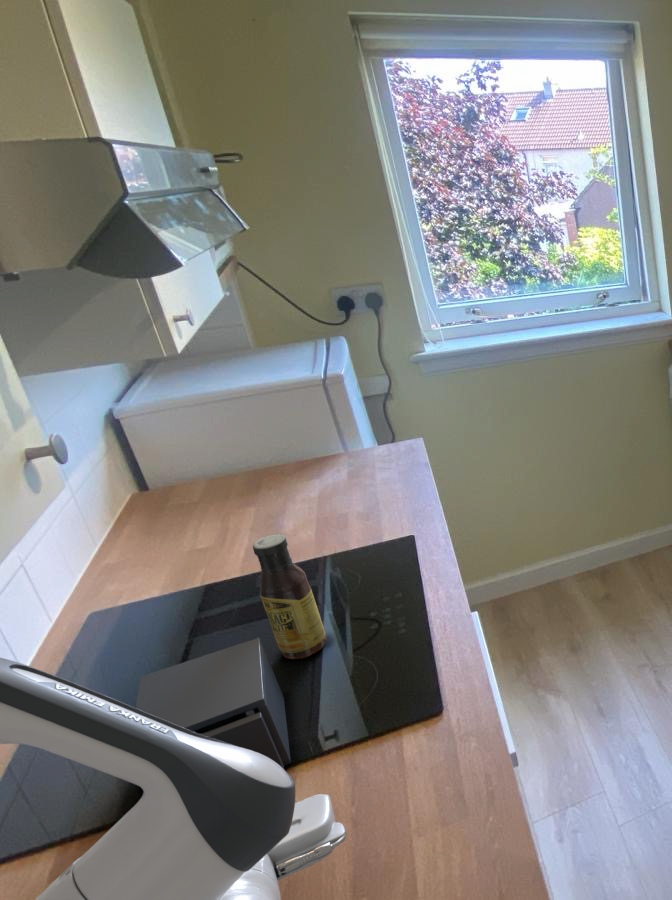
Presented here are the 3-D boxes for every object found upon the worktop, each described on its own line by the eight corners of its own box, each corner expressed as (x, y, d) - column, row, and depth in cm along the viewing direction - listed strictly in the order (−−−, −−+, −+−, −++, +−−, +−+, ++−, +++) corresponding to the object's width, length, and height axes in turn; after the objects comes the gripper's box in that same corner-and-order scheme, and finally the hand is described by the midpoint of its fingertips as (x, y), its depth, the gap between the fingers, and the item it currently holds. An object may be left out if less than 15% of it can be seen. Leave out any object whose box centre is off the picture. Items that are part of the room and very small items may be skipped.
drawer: (286, 794, 89) (262, 739, 85) (165, 846, 83) (133, 789, 79) (278, 708, 102) (257, 657, 98) (173, 747, 96) (146, 695, 92)
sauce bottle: (273, 657, 113) (228, 547, 105) (309, 632, 119) (270, 526, 110) (303, 666, 111) (260, 555, 103) (339, 640, 117) (301, 533, 108)
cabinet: (291, 763, 94) (263, 698, 90) (165, 815, 87) (128, 748, 83) (283, 697, 105) (259, 637, 101) (171, 739, 98) (139, 676, 94)
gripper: (343, 813, 71) (321, 758, 82) (49, 940, 58) (68, 856, 69) (356, 870, 72) (333, 808, 83) (70, 1007, 59) (86, 914, 70)
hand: (211, 831), depth 76 cm, fingers open, 8 cm apart
